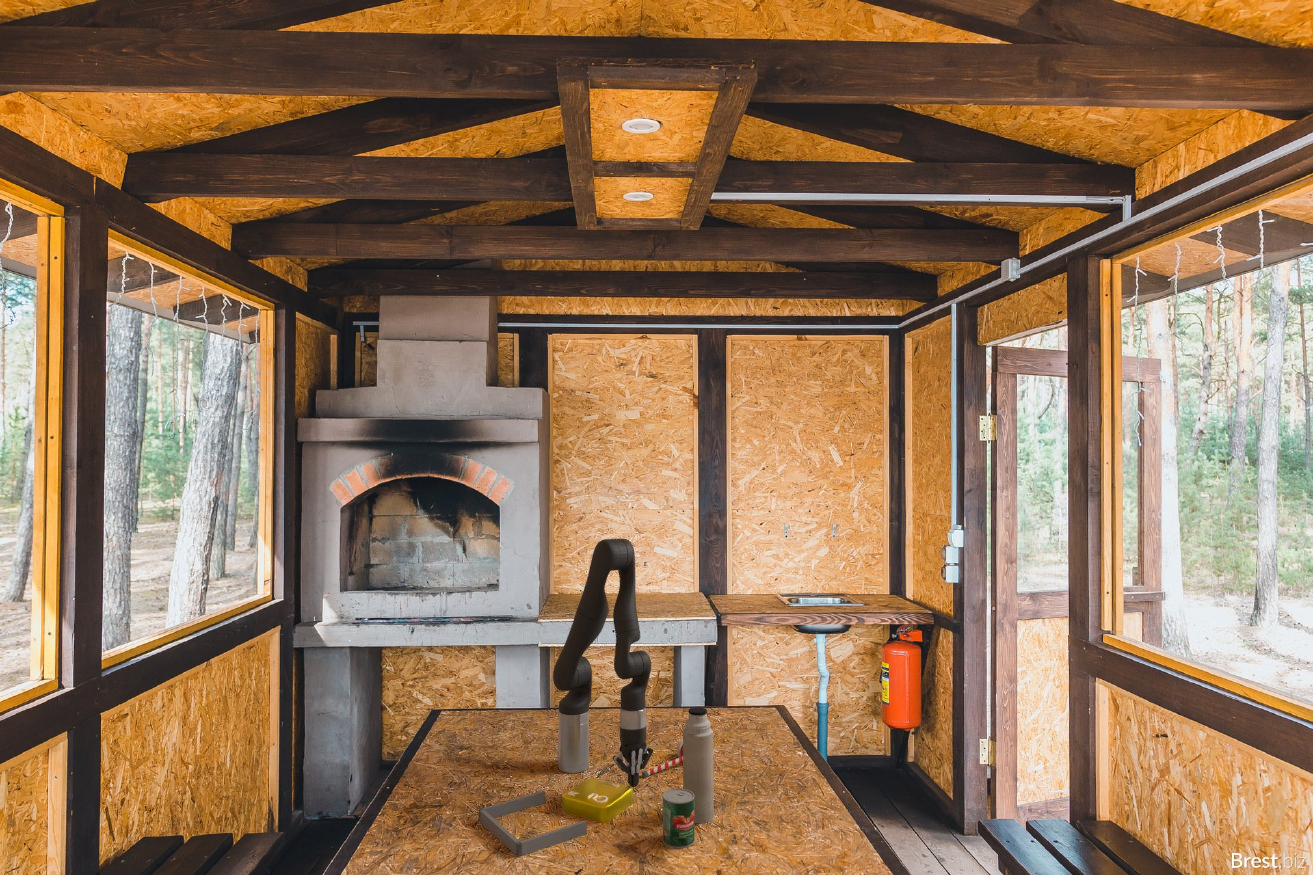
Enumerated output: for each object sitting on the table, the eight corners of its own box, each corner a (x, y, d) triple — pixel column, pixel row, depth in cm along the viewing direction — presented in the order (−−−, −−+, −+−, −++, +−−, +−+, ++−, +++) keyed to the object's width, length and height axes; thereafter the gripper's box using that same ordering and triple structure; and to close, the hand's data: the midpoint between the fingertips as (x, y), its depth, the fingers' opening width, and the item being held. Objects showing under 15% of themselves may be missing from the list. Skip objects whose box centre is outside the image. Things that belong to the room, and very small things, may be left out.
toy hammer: (654, 785, 222) (654, 763, 222) (632, 772, 232) (632, 750, 232) (715, 767, 235) (715, 746, 235) (692, 755, 245) (691, 735, 245)
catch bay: (478, 820, 200) (478, 809, 200) (543, 801, 211) (543, 790, 211) (517, 857, 181) (517, 844, 181) (586, 833, 192) (586, 821, 193)
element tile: (635, 802, 211) (635, 785, 211) (605, 825, 198) (605, 806, 198) (591, 791, 218) (591, 774, 218) (558, 812, 205) (558, 793, 205)
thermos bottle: (688, 807, 207) (687, 702, 208) (717, 811, 204) (716, 705, 205) (679, 820, 199) (678, 712, 200) (709, 825, 197) (708, 715, 197)
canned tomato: (684, 851, 183) (684, 805, 184) (656, 843, 188) (656, 797, 188) (700, 837, 190) (700, 792, 190) (673, 829, 194) (673, 785, 195)
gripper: (644, 715, 222) (644, 775, 222) (606, 724, 214) (606, 787, 214) (659, 722, 216) (660, 784, 216) (621, 732, 208) (621, 796, 208)
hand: (633, 785), depth 215 cm, fingers closed
